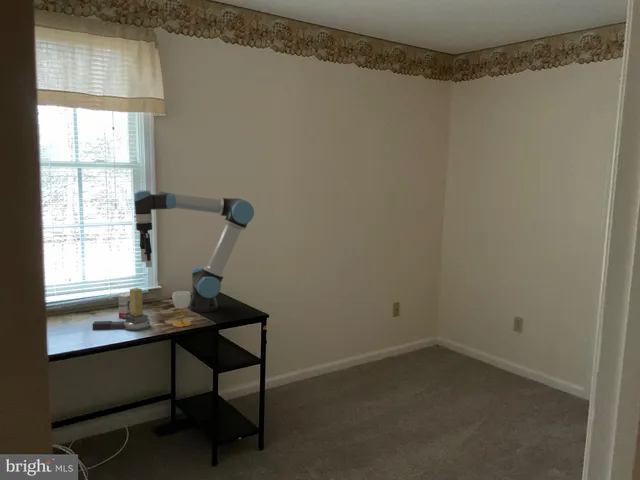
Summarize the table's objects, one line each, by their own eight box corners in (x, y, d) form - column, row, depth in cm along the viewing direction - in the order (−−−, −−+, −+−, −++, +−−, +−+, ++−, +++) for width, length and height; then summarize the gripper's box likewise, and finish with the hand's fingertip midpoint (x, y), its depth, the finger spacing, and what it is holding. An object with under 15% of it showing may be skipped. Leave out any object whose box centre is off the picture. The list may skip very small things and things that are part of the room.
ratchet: (151, 323, 268) (151, 311, 267) (147, 330, 257) (147, 318, 256) (96, 324, 264) (96, 312, 263) (90, 332, 253) (90, 320, 252)
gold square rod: (137, 319, 264) (136, 287, 261) (142, 321, 261) (142, 289, 259) (130, 321, 261) (129, 289, 258) (135, 323, 258) (134, 290, 256)
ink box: (127, 318, 274) (126, 296, 272) (118, 318, 275) (117, 295, 273) (136, 314, 283) (135, 292, 281) (127, 313, 283) (127, 291, 282)
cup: (191, 321, 273) (191, 290, 270) (190, 326, 264) (190, 295, 262) (173, 321, 271) (172, 290, 269) (171, 327, 263) (171, 295, 260)
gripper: (132, 219, 273) (135, 260, 277) (140, 225, 251) (142, 270, 255) (147, 218, 277) (150, 259, 280) (156, 224, 255) (159, 268, 258)
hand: (146, 264), depth 268 cm, fingers open, 13 cm apart
